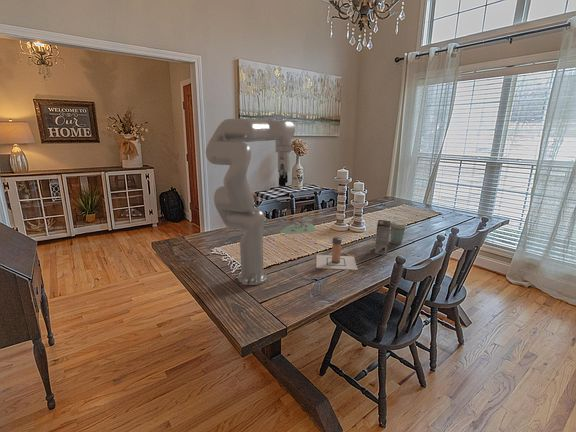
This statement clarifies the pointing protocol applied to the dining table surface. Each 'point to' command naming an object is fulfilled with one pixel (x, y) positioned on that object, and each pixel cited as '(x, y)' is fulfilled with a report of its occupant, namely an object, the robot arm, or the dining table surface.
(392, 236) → the coffee cup
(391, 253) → the dining table surface
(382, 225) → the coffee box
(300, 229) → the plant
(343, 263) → the paper sheet
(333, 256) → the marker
